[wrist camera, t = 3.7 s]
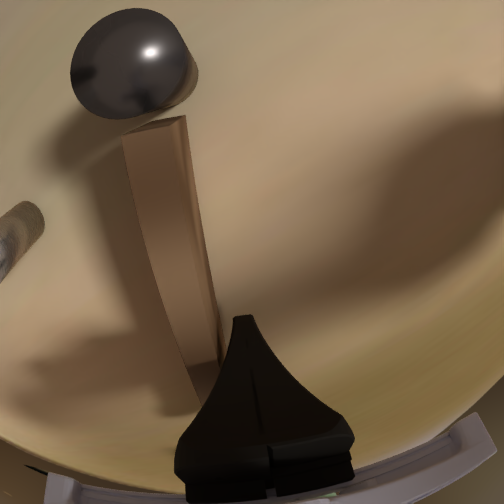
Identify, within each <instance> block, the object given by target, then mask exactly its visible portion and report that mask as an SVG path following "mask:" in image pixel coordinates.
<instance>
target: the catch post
mask: <svg viewBox="0 0 504 504" xmlns="http://www.w3.org/2000/svg"><path fill="white" fill-rule="evenodd" d="M44 226H45V224H44V218H43V215H42V213H41V211H40V210H39V208H38V207H37V206H36V205H35V204H33V203H31V202H29V201H22V202H20V203H18V204H17V205H16V206H14V207H13V208H12V209H11V210H9V211H8V212H7V213H6V214H4V215H3V216H2V217H1V218H0V283H1V282H2V281H3V279H4V278H5V277H6V276H7V274H8V273H9V272H10V271H11V269H12V268H13V267H14V266H15V265H16V263H17V262H18V261H19V260H20V259H21V258H22V256H23V255H24V254H25V253H26V252H27V251H28V250H29V249H30V247H31V246H32V245H33V244H34V243H35V242H36V241H37V240H38V239H39V238H40V236H41V235H42V234H43V232H44Z"/></svg>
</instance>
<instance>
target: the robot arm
mask: <svg viewBox="0 0 504 504" xmlns="http://www.w3.org/2000/svg"><path fill="white" fill-rule="evenodd" d="M354 440H355V437H354V434H353V432H352V430H351V428H350V426H349V425H348V423H347V422H346V420H345V419H344V417H343V416H342V415H341V414H339V413H338V412H336V411H334V410H333V409H331V408H330V407H328V406H327V405H326V404H324V403H323V402H322V401H320V400H319V399H318V398H316V397H315V396H314V395H313V394H312V393H310V392H309V391H308V390H307V389H306V388H305V387H303V386H302V385H301V384H300V383H299V382H298V381H297V380H296V379H295V378H294V377H293V376H292V375H291V374H290V373H289V371H288V370H287V369H286V368H285V367H284V366H283V365H282V363H281V362H280V361H279V360H278V358H277V357H276V356H275V354H274V353H273V351H272V350H271V349H270V347H269V346H268V344H267V343H266V341H265V339H264V338H263V336H262V334H261V332H260V331H259V329H258V327H257V324H256V322H255V320H254V316H253V315H251V314H249V315H242V316H235V317H234V318H233V327H232V333H231V338H230V342H229V346H228V350H227V353H226V357H225V359H224V362H223V365H222V368H221V371H220V373H219V375H218V378H217V380H216V382H215V384H214V386H213V388H212V390H211V392H210V394H209V396H208V398H207V400H206V402H205V403H204V405H203V406H202V408H201V410H200V411H199V413H198V414H197V416H196V417H195V419H194V420H193V421H192V423H191V424H190V425H189V427H188V428H187V429H186V430H185V432H184V433H183V434H182V436H181V437H180V438H179V441H178V444H177V448H176V452H175V458H174V473H175V474H176V476H177V477H178V478H180V479H181V480H182V481H183V482H184V483H185V491H186V495H179V494H154V493H153V494H152V493H140V492H130V491H122V490H113V489H107V488H100V487H95V486H89V485H84V484H81V483H80V482H78V481H77V480H75V479H73V478H70V477H67V476H63V475H59V474H55V473H51V472H49V473H48V478H47V484H46V490H45V497H44V504H413V503H415V502H417V501H419V500H421V499H423V498H425V497H427V496H429V495H431V494H433V493H435V492H436V491H438V490H440V489H442V488H444V487H446V486H447V485H449V484H451V483H452V482H454V481H456V480H458V479H459V478H461V477H463V476H464V475H466V474H467V473H469V472H471V471H472V470H473V469H475V468H476V467H478V466H479V465H480V464H481V463H483V462H484V461H485V460H487V459H488V458H489V457H491V456H492V455H493V454H495V453H496V452H497V449H496V447H495V445H494V443H493V441H492V439H491V437H490V435H489V433H488V432H487V430H486V428H485V426H484V425H483V423H482V421H481V419H480V417H479V415H478V414H477V412H474V413H472V414H471V415H469V416H467V417H465V418H464V419H462V420H460V421H458V422H457V423H456V424H455V425H453V426H452V427H451V428H450V430H449V431H448V432H446V433H444V434H443V435H440V436H439V437H436V438H434V439H432V440H430V441H428V442H426V443H424V444H421V445H419V446H417V447H415V448H412V449H410V450H408V451H405V452H403V453H400V454H398V455H395V456H393V457H390V458H387V459H385V460H382V461H379V462H376V463H374V464H371V465H368V466H365V467H361V468H358V469H355V470H353V467H352V464H351V460H352V458H351V455H350V452H349V450H350V448H351V446H352V445H353V443H354ZM338 491H340V493H339V494H340V495H337V496H332V497H327V498H326V497H319V496H323V495H327V494H331V493H335V492H338ZM315 497H318V498H315ZM310 498H312V499H310ZM290 502H291V503H290Z"/></svg>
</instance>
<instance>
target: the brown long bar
mask: <svg viewBox="0 0 504 504" xmlns="http://www.w3.org/2000/svg"><path fill="white" fill-rule="evenodd" d="M121 141H122V147H123V152H124V157H125V162H126V167H127V172H128V177H129V181H130V186H131V190H132V195H133V199H134V203H135V207H136V211H137V215H138V219H139V223H140V227H141V231H142V235H143V238H144V242H145V246H146V249H147V253H148V256H149V260H150V263H151V267H152V270H153V273H154V277H155V280H156V283H157V286H158V289H159V293H160V296H161V299H162V302H163V305H164V308H165V311H166V314H167V317H168V320H169V323H170V325H171V328H172V331H173V334H174V337H175V339H176V342H177V345H178V347H179V350H180V353H181V355H182V358H183V361H184V363H185V366H186V368H187V371H188V373H189V376H190V378H191V381H192V383H193V386H194V388H195V390H196V393H197V395H198V397H199V400H200V402H201V404H202V406H203V405H204V403H205V402H206V400H207V398H208V396H209V394H210V392H211V390H212V388H213V386H214V384H215V382H216V380H217V378H218V375H219V373H220V371H221V368H222V365H223V362H224V359H225V357H226V353H227V350H226V345H225V341H224V336H223V331H222V327H221V322H220V317H219V312H218V307H217V303H216V298H215V293H214V287H213V282H212V277H211V272H210V267H209V261H208V256H207V250H206V245H205V239H204V234H203V228H202V222H201V216H200V210H199V204H198V198H197V192H196V185H195V179H194V173H193V166H192V159H191V152H190V145H189V138H188V131H187V123H186V115H183V116H177V117H171V118H166V119H160V120H155V121H152V122H149V123H147V124H145V125H143V126H141V127H138V128H136V129H134V130H132V131H130V132H128V133H126V134H124V135H122V136H121Z"/></svg>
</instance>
